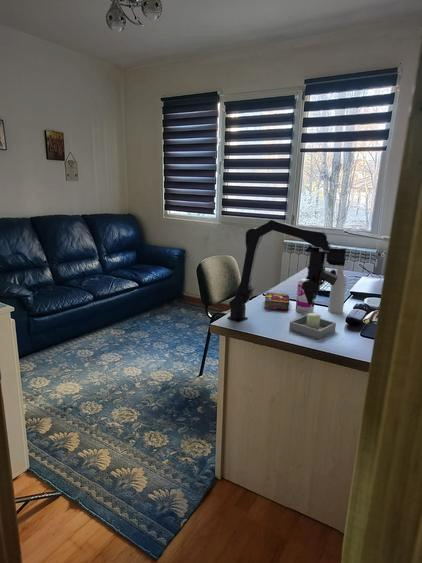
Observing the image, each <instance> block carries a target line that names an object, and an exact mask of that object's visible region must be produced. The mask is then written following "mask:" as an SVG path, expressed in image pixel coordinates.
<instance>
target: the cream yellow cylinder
mask: <svg viewBox="0 0 422 563" xmlns="http://www.w3.org/2000/svg"><path fill="white" fill-rule="evenodd" d="M306 315H307V323H306V326H307V327H310V328H313V329H317V330H319V323H320V318H321V315H320V314H319V313H316V312H312V313H306Z"/></svg>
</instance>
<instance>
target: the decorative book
mask: <svg viewBox="0 0 422 563" xmlns="http://www.w3.org/2000/svg"><path fill="white" fill-rule="evenodd" d="M289 305H290V295H289V294H288V293H278V292H277V293H276V292H271V291H270V292H269V291H267V292H266V293H265V297H264V310H267V311H270V310H277V311H289V308H290V306H289Z"/></svg>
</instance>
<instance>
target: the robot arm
mask: <svg viewBox="0 0 422 563" xmlns="http://www.w3.org/2000/svg"><path fill="white" fill-rule="evenodd" d="M272 231H273V232H274V231H275V232H278V233H281V234H285V235H287V236H290V237H294V238H297V239H301V240H302V241H305V242H306V243H308V244H309V246H308V247H306V248H305V249H304V251H305V252H309V260H308V265H307V275H306V277H305V278H306V279H309V280H305V281H304V282H303V283H302V288H303V290H304V293H305V296H306V299H307V301H308V304H309V305H312V302H313V299H315V300H316V298H317V295H318V292H320V290H321V286H323V285H324V283H327V284H330V286H331V285H334V284H335V282H336V280H337V279H338V275H336V273H337V270H334V269H331V271H330V270H326V267H325V261H326V263H328V265H329V266H336V267H338V266H344V267H345V265H346V264H345V262H346V254H345V253H346V251H347V250H346V248H345V247H332V246H331V244H330V243H329V241H328V234H327V233H326V232H325V231H323V230H321V229H320V230H318V229H306V228H303V227H299V226H296V225H293V224H288V223H286V222H283V221H279V220H277V219H270V220H269V221H268V222H265V223H264V224H262V225H260V226H258V227H257V226H256V227H252V228H250V229H248V230H246V232H245V248H246V252H245V255H244V262H243V266H242V267H243V268H242V271H241V273H242V274H241V278H240V282H239V284H238V286H237V289H236V291H235V294H234V297H233V298H232V299H231V300H230V301H229V302H228V304H229V307H230V314H229V316H227V319H228V320H232V321H233V322H234V321H235V322H237V323H240V322H242V321H244V320H248V317H247V316H246V309H247V308H246V307H247V306H246V304H247V303H248V301H249V300H250V299H251V298H252V297H253V296H254V293H253V292H254V289H255V286H252V279H253V278H252V277H253V272H254V267H255V261H256V256H257V251H258V248H259V247H260V244H261V242H262V239H263V236H265V235H267V234H268V233H270V232H272ZM321 249H322V250H321ZM325 259H326V260H325Z"/></svg>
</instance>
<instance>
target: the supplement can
mask: <svg viewBox="0 0 422 563" xmlns="http://www.w3.org/2000/svg"><path fill="white" fill-rule="evenodd" d="M305 280H309V279H306V277H305V278H302V277H301V278H299V280H298V282H297V291H296V300H295V301H296V302H295V310H296V311H297V312H298V313H301V314H308V313H314V311H315V310H314V309H315V302H316V301H315V300H316V299H313V302H312V305H309V304H308V301H307V299H306V296H305V293H304V290H303V288H302V283H303V282H304V281H305Z"/></svg>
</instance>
